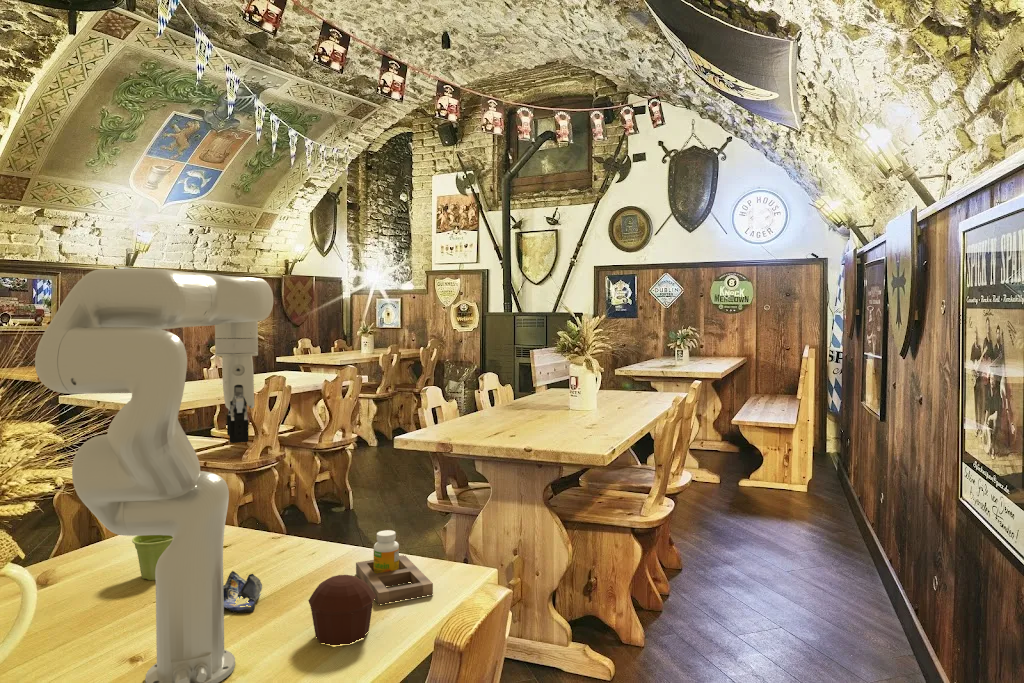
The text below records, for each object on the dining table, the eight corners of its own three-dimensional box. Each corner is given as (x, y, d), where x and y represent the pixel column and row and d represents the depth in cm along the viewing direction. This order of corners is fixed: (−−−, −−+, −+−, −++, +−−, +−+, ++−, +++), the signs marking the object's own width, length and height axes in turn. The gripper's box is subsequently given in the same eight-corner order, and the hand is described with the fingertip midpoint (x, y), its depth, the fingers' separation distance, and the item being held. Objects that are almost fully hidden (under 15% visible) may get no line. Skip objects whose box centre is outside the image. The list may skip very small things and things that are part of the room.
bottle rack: (432, 595, 136) (432, 583, 136) (378, 605, 131) (378, 593, 131) (404, 565, 153) (404, 554, 153) (356, 573, 149) (355, 562, 148)
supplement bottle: (369, 581, 144) (369, 535, 144) (380, 572, 150) (379, 528, 149) (392, 583, 143) (392, 537, 143) (403, 574, 148) (402, 530, 148)
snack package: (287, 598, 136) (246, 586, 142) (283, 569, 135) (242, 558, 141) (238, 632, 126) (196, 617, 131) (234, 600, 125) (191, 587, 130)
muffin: (295, 636, 119) (295, 579, 118) (348, 615, 127) (348, 562, 127) (335, 657, 111) (335, 597, 111) (389, 634, 119) (389, 578, 119)
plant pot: (181, 579, 146) (180, 539, 146) (131, 586, 142) (130, 545, 142) (181, 565, 154) (181, 527, 154) (134, 572, 150) (133, 533, 150)
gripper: (261, 348, 122) (262, 443, 122) (254, 347, 138) (255, 431, 138) (216, 349, 119) (217, 447, 119) (214, 347, 135) (214, 434, 135)
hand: (237, 438), depth 129 cm, fingers open, 9 cm apart
